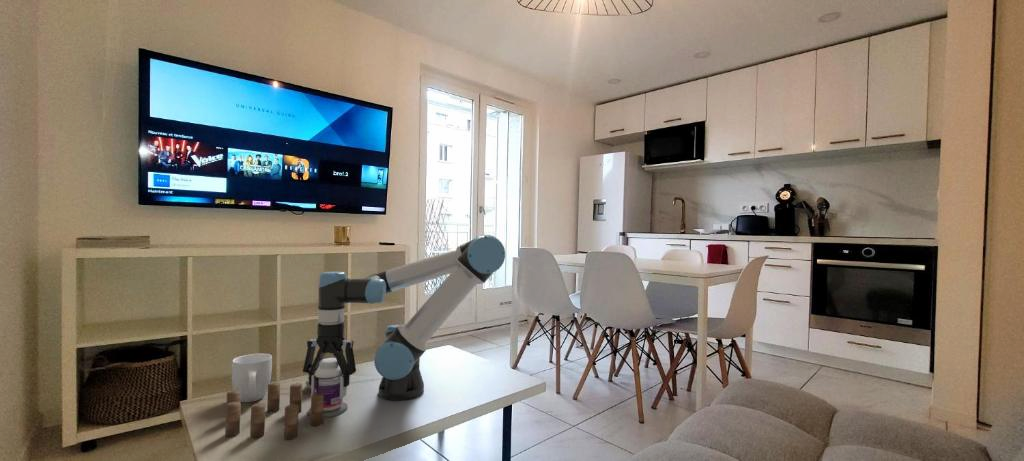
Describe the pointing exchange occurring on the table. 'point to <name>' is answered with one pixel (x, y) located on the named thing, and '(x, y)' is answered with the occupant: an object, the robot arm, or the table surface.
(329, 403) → the pill bottle
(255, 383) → the mug
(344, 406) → the coaster
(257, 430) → the dowel posts
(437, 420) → the table surface
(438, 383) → the table surface
